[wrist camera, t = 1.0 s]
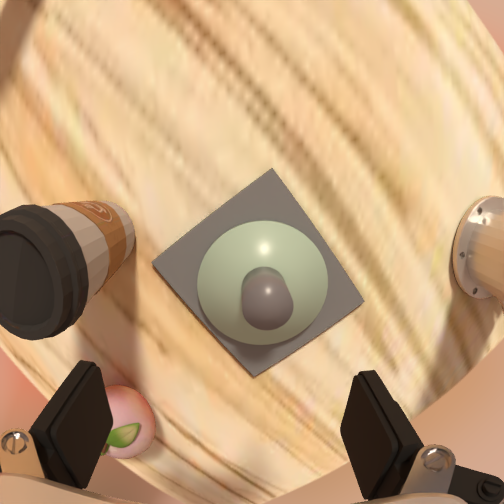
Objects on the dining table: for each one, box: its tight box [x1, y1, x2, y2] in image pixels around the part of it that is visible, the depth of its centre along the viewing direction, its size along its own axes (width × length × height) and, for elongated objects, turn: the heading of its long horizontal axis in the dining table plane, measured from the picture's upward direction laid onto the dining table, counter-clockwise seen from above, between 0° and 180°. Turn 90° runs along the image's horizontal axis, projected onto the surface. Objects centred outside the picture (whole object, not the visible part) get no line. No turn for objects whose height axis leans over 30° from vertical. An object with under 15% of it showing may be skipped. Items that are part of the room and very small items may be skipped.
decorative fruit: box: [101, 385, 156, 459], centre depth 29 cm, size 9×8×10 cm
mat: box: [151, 168, 364, 376], centre depth 30 cm, size 16×14×1 cm
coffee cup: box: [0, 201, 135, 340], centre depth 21 cm, size 8×8×15 cm
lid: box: [197, 220, 328, 345], centre depth 27 cm, size 12×12×6 cm
